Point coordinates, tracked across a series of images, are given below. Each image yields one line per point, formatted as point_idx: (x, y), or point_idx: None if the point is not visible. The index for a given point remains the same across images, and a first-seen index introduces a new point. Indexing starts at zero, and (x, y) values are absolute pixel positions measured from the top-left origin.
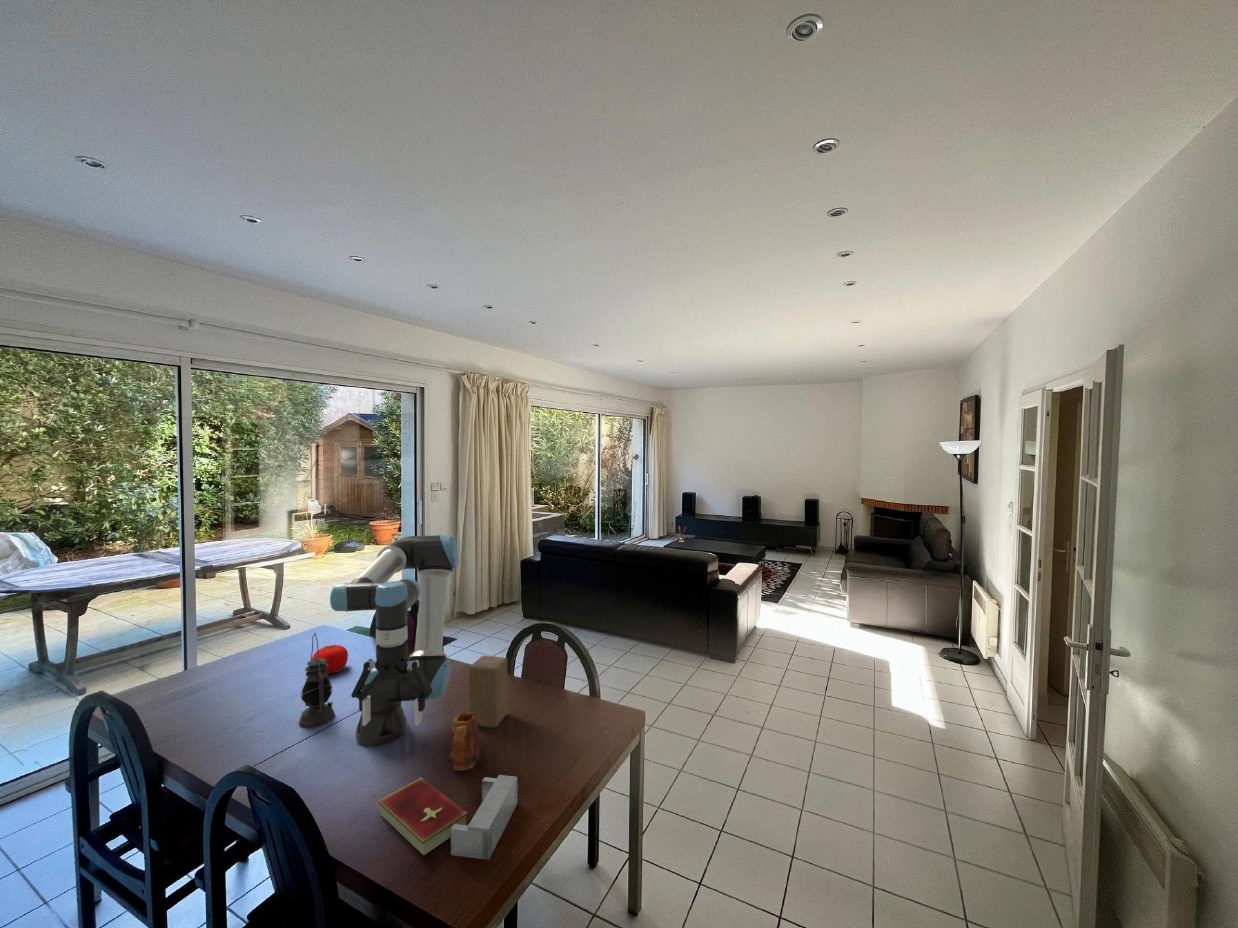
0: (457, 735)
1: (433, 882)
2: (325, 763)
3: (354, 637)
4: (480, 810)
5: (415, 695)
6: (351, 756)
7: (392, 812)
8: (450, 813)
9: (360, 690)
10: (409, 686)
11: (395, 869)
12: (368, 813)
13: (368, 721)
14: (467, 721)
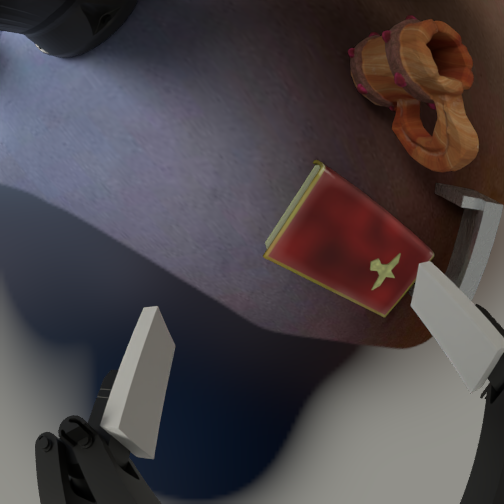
0: (461, 163)
1: (394, 326)
2: (42, 135)
3: None
4: (462, 287)
5: (486, 410)
6: (71, 95)
7: (312, 278)
8: (412, 261)
9: (67, 464)
10: (480, 472)
11: (346, 325)
12: (238, 244)
13: (164, 325)
14: (464, 83)
